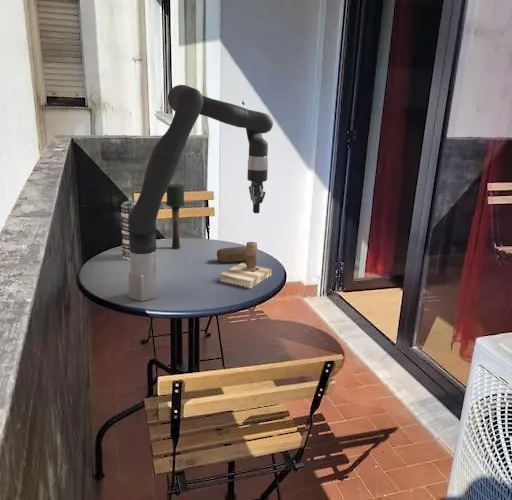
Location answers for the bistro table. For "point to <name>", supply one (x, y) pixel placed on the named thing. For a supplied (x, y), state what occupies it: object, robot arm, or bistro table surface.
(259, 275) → the board
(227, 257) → the stone weight
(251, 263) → the peg
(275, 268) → the bistro table surface
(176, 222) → the potato masher grenade
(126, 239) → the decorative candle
